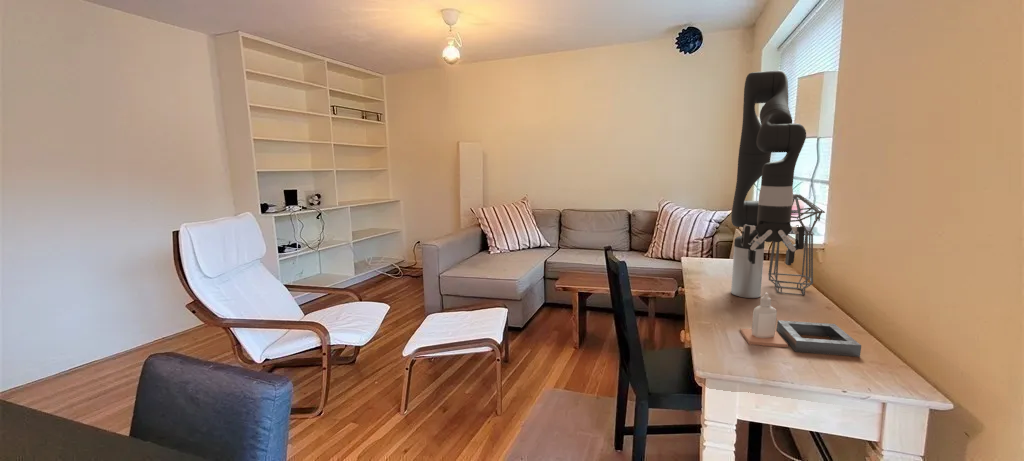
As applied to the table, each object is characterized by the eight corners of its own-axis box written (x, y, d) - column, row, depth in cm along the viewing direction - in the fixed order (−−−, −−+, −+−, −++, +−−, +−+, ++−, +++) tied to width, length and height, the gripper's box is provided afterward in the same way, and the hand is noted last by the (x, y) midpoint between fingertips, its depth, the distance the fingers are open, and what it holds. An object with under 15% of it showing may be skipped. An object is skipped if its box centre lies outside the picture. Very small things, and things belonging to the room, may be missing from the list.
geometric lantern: (765, 294, 155) (771, 195, 150) (763, 283, 169) (769, 192, 164) (819, 299, 148) (827, 195, 143) (812, 288, 161) (820, 193, 157)
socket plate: (776, 330, 124) (777, 320, 123) (833, 334, 120) (834, 323, 120) (795, 351, 110) (796, 340, 110) (859, 356, 107) (861, 345, 106)
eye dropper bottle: (776, 340, 115) (780, 296, 113) (752, 337, 117) (755, 294, 115) (773, 334, 119) (777, 291, 117) (750, 331, 121) (753, 289, 119)
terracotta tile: (740, 331, 124) (740, 328, 124) (775, 333, 122) (775, 330, 121) (748, 344, 115) (749, 341, 115) (787, 347, 113) (787, 344, 113)
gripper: (800, 201, 115) (794, 261, 118) (741, 201, 119) (737, 259, 122) (812, 205, 108) (805, 268, 111) (748, 204, 111) (744, 266, 114)
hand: (769, 263), depth 116 cm, fingers open, 8 cm apart
